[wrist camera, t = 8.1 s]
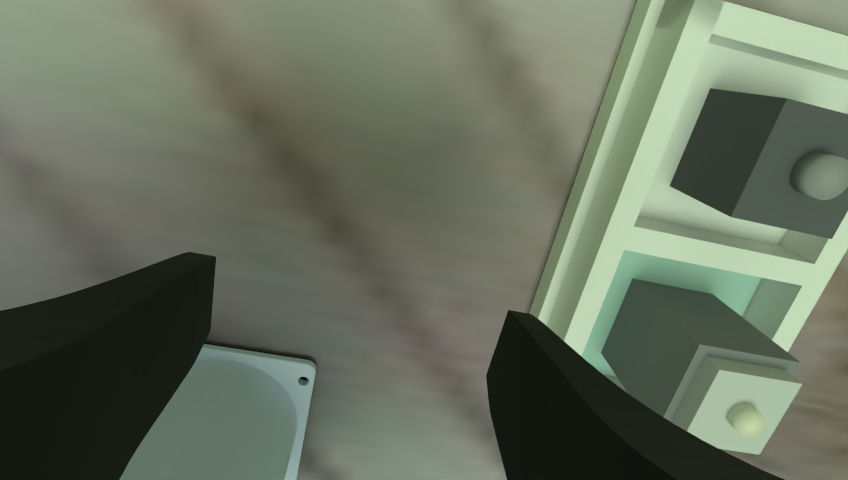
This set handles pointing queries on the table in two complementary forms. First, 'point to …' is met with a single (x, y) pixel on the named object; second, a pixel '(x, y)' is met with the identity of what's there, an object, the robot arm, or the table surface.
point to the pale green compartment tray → (656, 165)
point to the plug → (768, 162)
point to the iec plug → (700, 365)
